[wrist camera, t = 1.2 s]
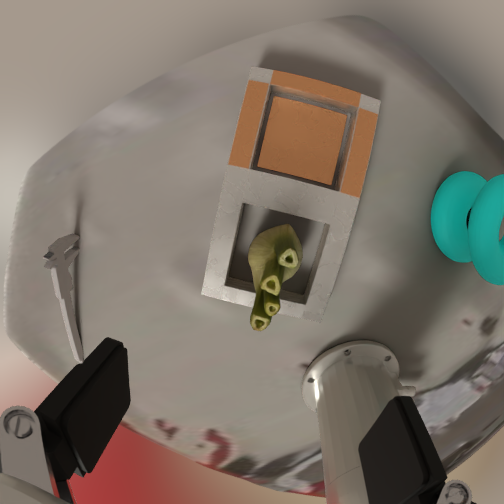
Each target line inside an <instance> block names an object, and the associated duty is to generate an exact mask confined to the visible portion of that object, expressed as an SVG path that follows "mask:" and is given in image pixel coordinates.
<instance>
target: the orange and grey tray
mask: <svg viewBox="0 0 504 504" xmlns="http://www.w3.org/2000/svg"><path fill="white" fill-rule="evenodd" d="M271 92H273V93H278V94H282V95H287V96H291V97H295V98H299V99H303V100H307V101H311V102H315V103H319V104H322V105H326V106H329V107H333V108H336V109H339V110H342V111H346V112H349V113H351V117H350V122H349V127H348V131H347V136H346V141H345V145H344V150H343V154H342V158H341V163H340V167H339V171H338V175H337V179H336V183H335V187H334V190H331V189H327V188H324V187H320V186H316V185H313V184H309V183H305V182H301V181H298V180H294V179H290V178H286V177H282V176H278V175H273V174H269V173H265V172H261V171H256V170H252V169H253V164H254V160H255V156H256V152H257V147H258V143H259V139H260V135H261V130H262V126H263V122H264V118H265V114H266V110H267V106H268V102H269V98H270V93H271ZM380 103H381V101H380V100H377V99H375V98H372V97H369V96H366V95H364V94H361V93H359V92H356V91H353V90H350V89H346V88H343V87H340V86H337V85H333V84H330V83H326V82H323V81H319V80H316V79H312V78H308V77H304V76H300V75H295V74H291V73H286V72H282V71H277V70H270V69H265V68H259V67H253V66H252V67H251V71H250V74H249V78H248V82H247V86H246V90H245V93H244V97H243V101H242V105H241V109H240V113H239V117H238V121H237V125H236V130H235V134H234V138H233V142H232V146H231V151H230V155H229V159H228V164H227V168H226V173H225V177H224V182H223V186H222V191H221V196H220V200H219V205H218V210H217V215H216V220H215V225H214V230H213V235H212V240H211V245H210V250H209V256H208V261H207V266H206V272H205V277H204V283H203V289H202V295H206V296H210V297H213V298H217V299H221V300H225V301H229V302H233V303H237V304H241V305H245V306H249V307H253V305H254V301H255V296H256V290H255V287H254V283H252V282H248V281H244V280H240V279H236V278H232V277H228V276H229V272H230V267H231V262H232V258H233V253H234V249H235V244H236V239H237V235H238V230H239V226H240V221H241V217H242V212H243V208H244V204H245V203H247V204H251V205H255V206H259V207H264V208H268V209H272V210H276V211H280V212H284V213H288V214H292V215H296V216H300V217H304V218H308V219H311V220H315V221H319V222H323V223H325V225H324V229H323V232H322V236H321V240H320V243H319V246H318V250H317V253H316V257H315V260H314V263H313V267H312V270H311V273H310V277H309V280H308V283H307V286H306V290H305V293H304V295H303V294H298V293H294V292H290V291H285V290H280V292H279V294H280V295H279V296H280V306H281V308H280V310H279V312H278V313H279V314H283V315H288V316H292V317H297V318H302V319H306V320H311V321H316V322H321V320H322V317H323V315H324V312H325V309H326V306H327V303H328V301H329V298H330V295H331V292H332V289H333V286H334V283H335V280H336V277H337V274H338V271H339V268H340V265H341V262H342V259H343V255H344V252H345V249H346V246H347V242H348V239H349V236H350V232H351V229H352V225H353V222H354V218H355V215H356V211H357V207H358V203H359V200H360V196H361V192H362V188H363V184H364V180H365V176H366V172H367V167H368V163H369V159H370V154H371V149H372V145H373V140H374V135H375V130H376V125H377V120H378V114H379V109H380ZM346 118H347V115H345V114H341V113H338V112H335V111H331V110H328V109H325V108H321V107H317V106H314V105H310V104H306V103H302V102H298V101H294V100H290V99H285V98H281V97H276V96H274V98H273V102H272V106H271V110H270V115H269V119H268V123H267V127H266V131H265V135H264V140H263V144H262V148H261V152H260V157H259V161H258V165H257V167H261V168H266V169H270V170H274V171H278V172H283V173H287V174H291V175H295V176H298V177H302V178H306V179H310V180H314V181H317V182H321V183H324V184H328V185H331V184H332V180H333V176H334V172H335V168H336V163H337V159H338V155H339V151H340V146H341V142H342V137H343V133H344V128H345V123H346Z"/></svg>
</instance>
